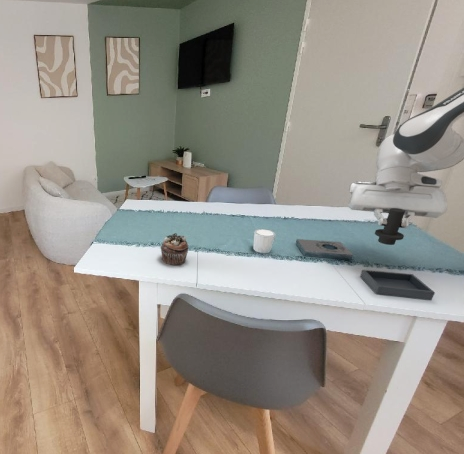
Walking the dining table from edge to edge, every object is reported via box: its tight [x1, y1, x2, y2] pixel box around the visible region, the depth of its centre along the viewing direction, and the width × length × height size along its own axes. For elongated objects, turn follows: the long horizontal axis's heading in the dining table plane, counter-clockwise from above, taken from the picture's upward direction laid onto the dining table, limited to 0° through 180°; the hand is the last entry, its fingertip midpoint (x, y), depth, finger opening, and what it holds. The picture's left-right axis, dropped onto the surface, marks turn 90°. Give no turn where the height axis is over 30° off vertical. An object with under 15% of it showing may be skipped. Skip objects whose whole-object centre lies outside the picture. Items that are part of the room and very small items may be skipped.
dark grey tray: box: [359, 269, 436, 301], centre depth 83 cm, size 12×9×2 cm
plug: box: [374, 208, 405, 246], centre depth 82 cm, size 6×6×10 cm
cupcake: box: [160, 233, 189, 266], centre depth 102 cm, size 10×10×10 cm
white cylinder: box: [252, 228, 276, 254], centre depth 107 cm, size 7×7×7 cm
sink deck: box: [295, 238, 354, 261], centre depth 104 cm, size 14×10×2 cm
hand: (393, 226), depth 82 cm, fingers closed on plug, 3 cm apart
